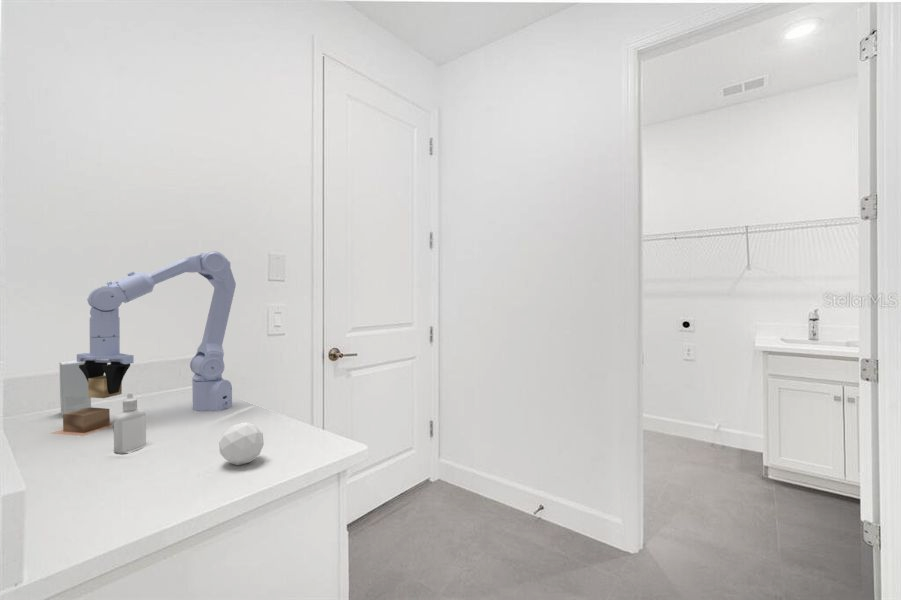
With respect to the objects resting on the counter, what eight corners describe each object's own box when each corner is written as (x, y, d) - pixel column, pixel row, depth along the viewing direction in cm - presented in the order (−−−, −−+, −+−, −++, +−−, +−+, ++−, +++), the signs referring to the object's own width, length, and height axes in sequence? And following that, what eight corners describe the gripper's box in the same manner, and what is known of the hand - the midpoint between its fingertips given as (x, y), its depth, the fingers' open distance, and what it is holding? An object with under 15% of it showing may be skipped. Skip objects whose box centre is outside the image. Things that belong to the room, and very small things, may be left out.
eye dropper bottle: (148, 449, 92) (148, 392, 92) (115, 456, 88) (114, 397, 88) (144, 444, 95) (143, 389, 95) (112, 451, 91) (111, 393, 91)
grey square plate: (165, 419, 114) (165, 416, 114) (103, 441, 97) (103, 437, 97) (114, 416, 117) (114, 413, 117) (45, 436, 101) (45, 432, 101)
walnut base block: (109, 425, 106) (109, 408, 106) (84, 433, 100) (84, 415, 100) (89, 423, 107) (89, 407, 107) (63, 431, 101) (62, 414, 101)
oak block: (121, 394, 108) (121, 375, 108) (103, 398, 104) (103, 379, 104) (106, 393, 109) (106, 375, 109) (88, 397, 105) (88, 378, 105)
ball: (242, 480, 84) (228, 457, 79) (219, 457, 87) (204, 434, 83) (276, 452, 88) (265, 428, 83) (253, 431, 92) (241, 407, 87)
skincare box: (91, 417, 116) (91, 361, 116) (61, 422, 112) (60, 363, 111) (88, 411, 122) (88, 357, 122) (59, 415, 118) (58, 360, 117)
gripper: (63, 337, 104) (63, 394, 104) (113, 338, 101) (114, 397, 101) (93, 334, 111) (93, 388, 111) (141, 336, 108) (141, 391, 108)
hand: (105, 392), depth 107 cm, fingers closed on oak block, 4 cm apart
